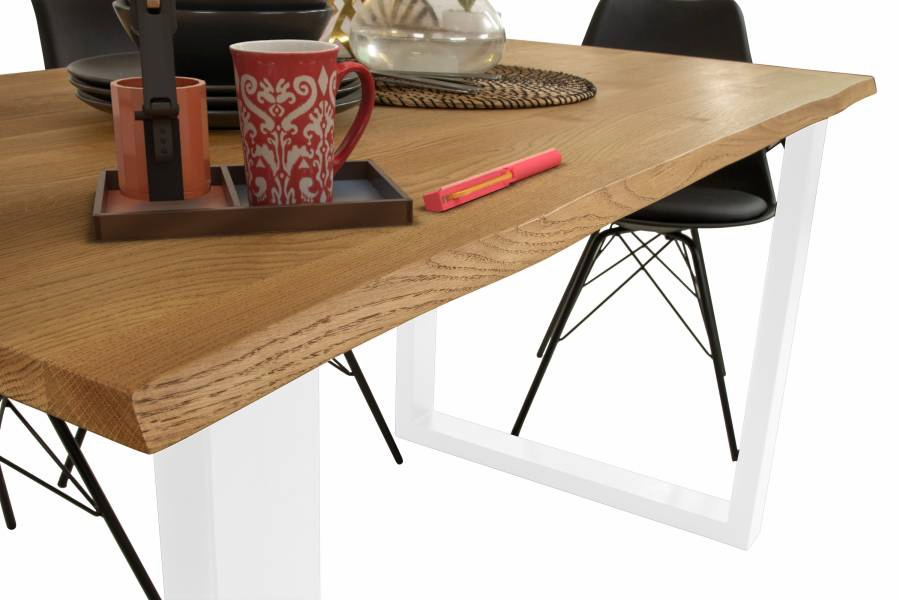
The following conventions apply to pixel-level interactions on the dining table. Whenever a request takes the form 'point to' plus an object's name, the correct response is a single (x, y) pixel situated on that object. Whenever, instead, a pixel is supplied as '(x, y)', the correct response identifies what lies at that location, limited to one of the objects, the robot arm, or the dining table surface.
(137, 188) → the terracotta cup
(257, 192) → the mug
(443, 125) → the dining table surface
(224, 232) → the tray
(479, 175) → the pink highlighter pen
